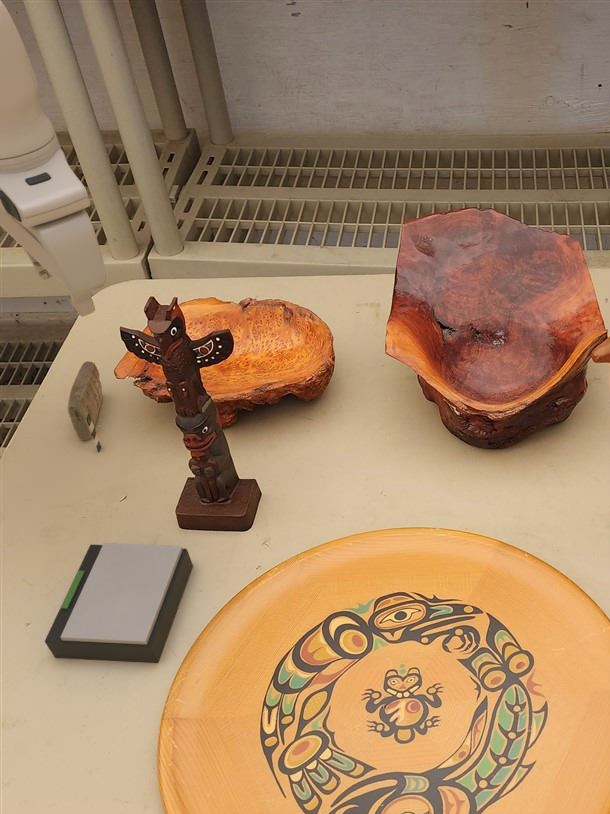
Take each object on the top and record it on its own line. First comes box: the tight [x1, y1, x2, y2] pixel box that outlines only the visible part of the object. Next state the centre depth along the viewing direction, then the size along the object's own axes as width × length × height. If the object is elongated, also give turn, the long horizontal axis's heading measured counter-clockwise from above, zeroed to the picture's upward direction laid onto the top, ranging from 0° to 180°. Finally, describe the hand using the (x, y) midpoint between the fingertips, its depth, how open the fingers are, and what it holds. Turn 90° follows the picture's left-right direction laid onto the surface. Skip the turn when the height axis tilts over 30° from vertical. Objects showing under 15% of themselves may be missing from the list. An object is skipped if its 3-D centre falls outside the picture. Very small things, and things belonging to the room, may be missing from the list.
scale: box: [44, 542, 194, 664], centre depth 92 cm, size 11×13×4 cm
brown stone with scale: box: [67, 360, 103, 453], centre depth 113 cm, size 6×4×12 cm
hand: (66, 293), depth 93 cm, fingers open, 8 cm apart
